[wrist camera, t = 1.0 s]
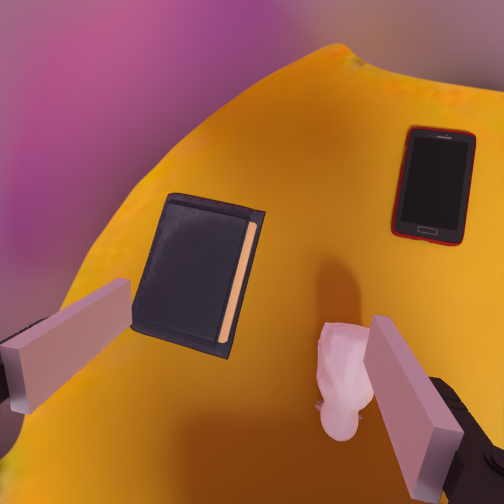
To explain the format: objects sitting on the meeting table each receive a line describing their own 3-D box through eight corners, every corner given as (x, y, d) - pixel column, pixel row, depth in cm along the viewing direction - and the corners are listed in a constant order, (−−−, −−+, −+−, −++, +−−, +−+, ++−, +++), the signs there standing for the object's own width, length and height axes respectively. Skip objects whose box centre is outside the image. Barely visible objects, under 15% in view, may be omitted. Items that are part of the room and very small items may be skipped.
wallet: (165, 186, 40) (269, 209, 36) (171, 191, 41) (271, 214, 38) (116, 327, 37) (224, 365, 33) (124, 326, 38) (228, 362, 35)
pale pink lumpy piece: (400, 336, 24) (382, 482, 23) (376, 322, 32) (362, 429, 32) (325, 321, 25) (305, 460, 24) (320, 312, 34) (305, 415, 33)
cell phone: (388, 235, 35) (391, 233, 34) (407, 129, 37) (410, 124, 36) (458, 248, 33) (462, 247, 32) (473, 137, 35) (478, 132, 34)
